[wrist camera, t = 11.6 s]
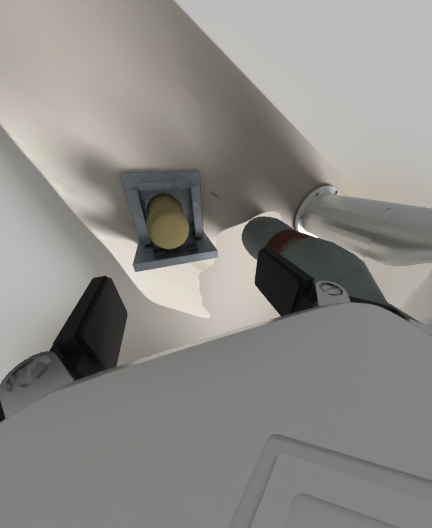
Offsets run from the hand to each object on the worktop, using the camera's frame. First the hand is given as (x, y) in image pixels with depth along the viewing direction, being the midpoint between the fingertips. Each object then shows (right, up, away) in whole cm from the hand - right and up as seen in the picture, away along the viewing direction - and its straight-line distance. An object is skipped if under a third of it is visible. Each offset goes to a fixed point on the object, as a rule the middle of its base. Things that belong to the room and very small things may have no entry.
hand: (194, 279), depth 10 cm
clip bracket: (-7, +11, +18) cm, 22 cm away
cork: (-8, +10, +18) cm, 22 cm away
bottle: (+11, +8, +27) cm, 30 cm away
